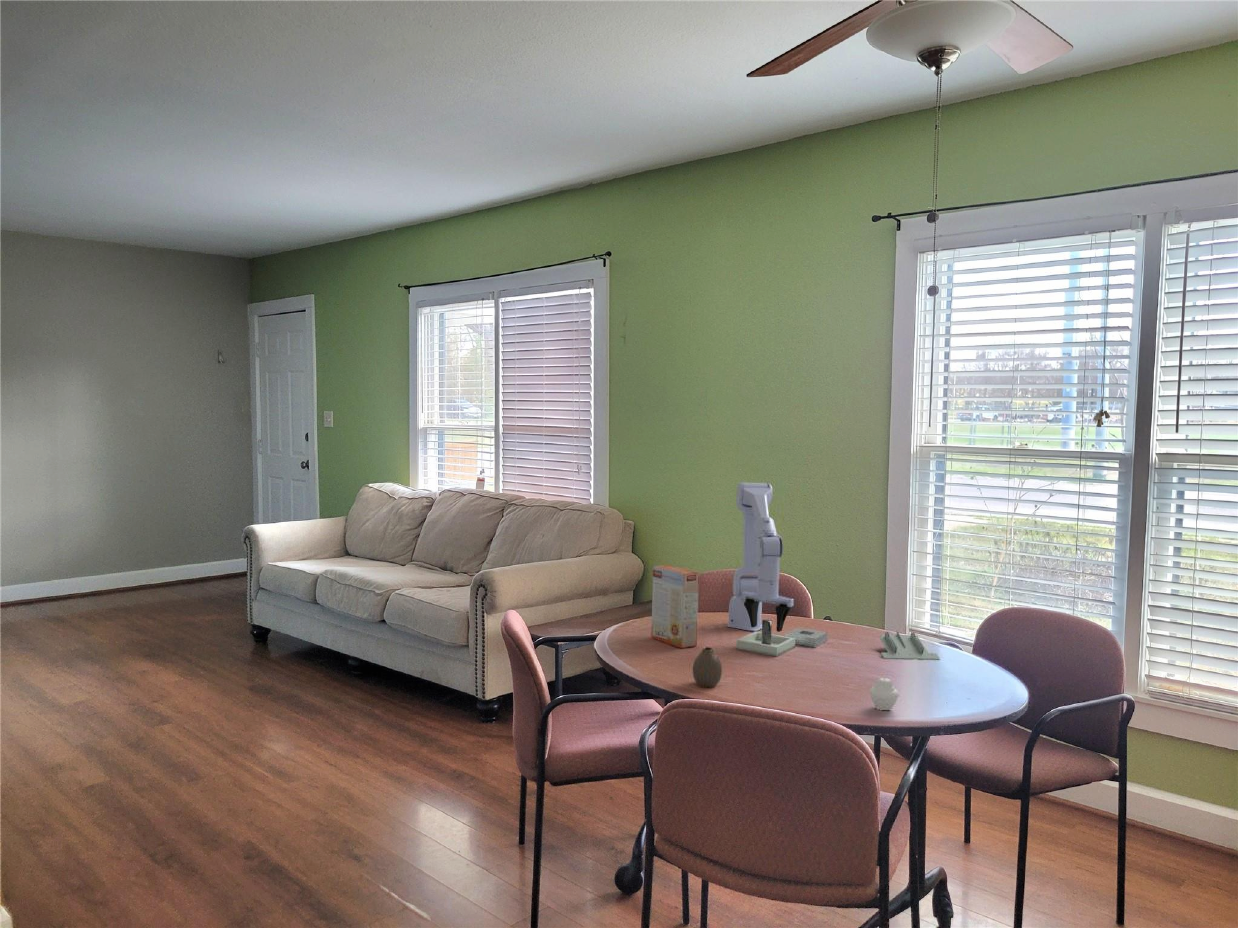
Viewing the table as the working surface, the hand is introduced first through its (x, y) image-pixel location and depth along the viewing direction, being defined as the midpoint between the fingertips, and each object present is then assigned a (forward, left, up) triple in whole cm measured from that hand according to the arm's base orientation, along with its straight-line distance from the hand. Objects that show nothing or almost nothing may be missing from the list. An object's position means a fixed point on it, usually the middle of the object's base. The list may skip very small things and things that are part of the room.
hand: (766, 628), depth 240 cm
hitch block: (+6, +14, -5) cm, 16 cm away
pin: (0, 0, -5) cm, 5 cm away
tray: (0, 0, -5) cm, 5 cm away
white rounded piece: (+42, -29, -6) cm, 51 cm away
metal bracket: (+32, +20, -6) cm, 38 cm away
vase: (+3, -39, -6) cm, 40 cm away
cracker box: (-23, -11, -6) cm, 26 cm away
